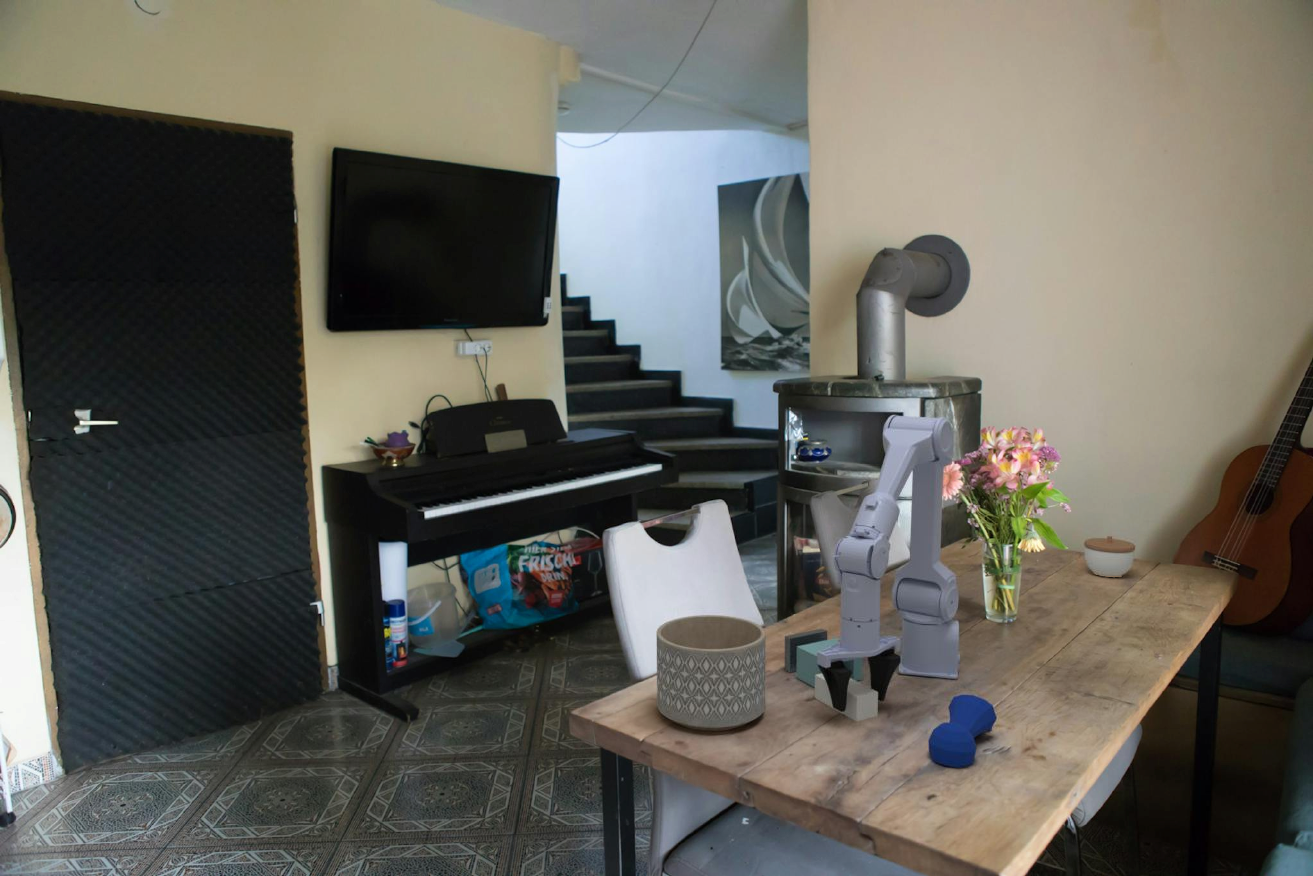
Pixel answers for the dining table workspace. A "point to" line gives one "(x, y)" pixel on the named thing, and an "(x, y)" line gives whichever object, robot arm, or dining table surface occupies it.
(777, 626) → the dining table surface
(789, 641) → the wall
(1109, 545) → the lidded jar
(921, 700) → the dining table surface
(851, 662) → the block
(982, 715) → the toy
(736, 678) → the planter
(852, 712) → the peg
